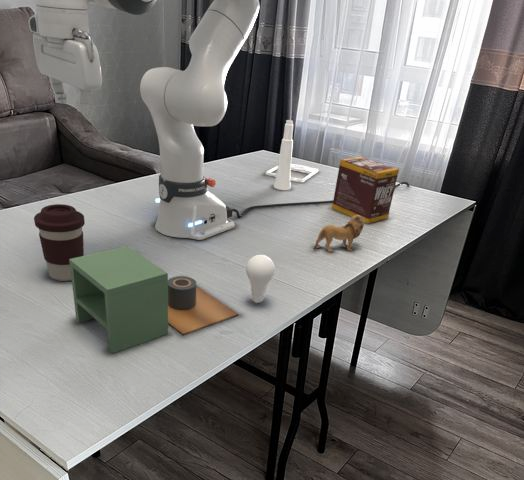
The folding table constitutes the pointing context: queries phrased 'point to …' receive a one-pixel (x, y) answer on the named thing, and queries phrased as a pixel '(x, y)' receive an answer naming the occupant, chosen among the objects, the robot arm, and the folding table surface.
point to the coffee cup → (60, 238)
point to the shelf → (121, 295)
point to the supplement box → (364, 188)
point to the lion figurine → (342, 233)
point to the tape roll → (182, 293)
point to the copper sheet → (199, 314)
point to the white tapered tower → (285, 159)
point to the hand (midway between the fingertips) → (71, 107)
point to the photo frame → (297, 168)
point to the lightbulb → (259, 275)
